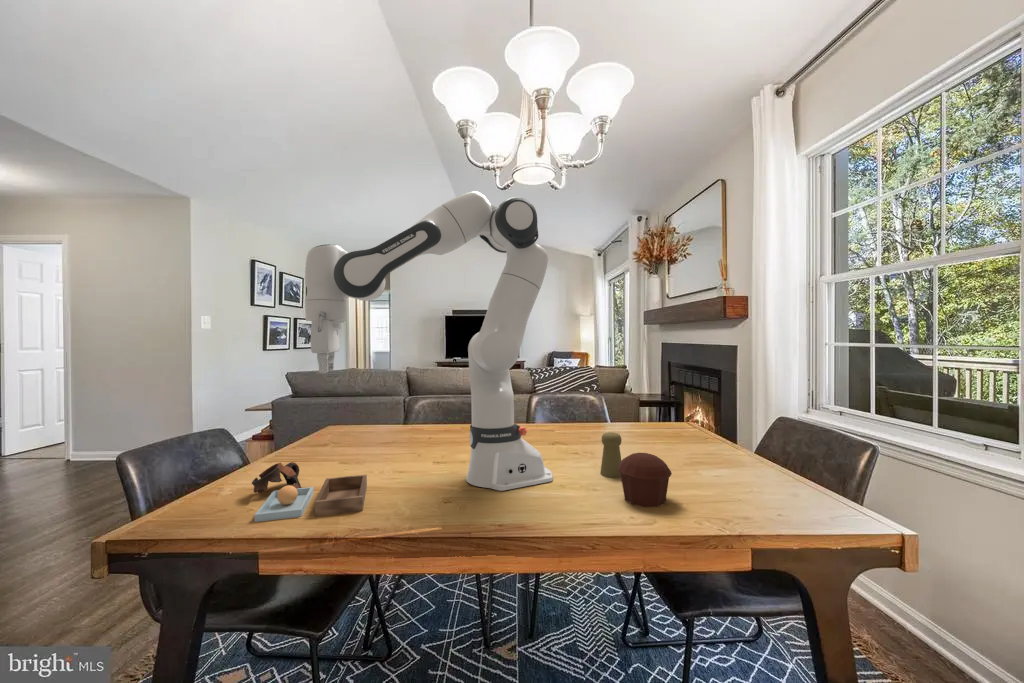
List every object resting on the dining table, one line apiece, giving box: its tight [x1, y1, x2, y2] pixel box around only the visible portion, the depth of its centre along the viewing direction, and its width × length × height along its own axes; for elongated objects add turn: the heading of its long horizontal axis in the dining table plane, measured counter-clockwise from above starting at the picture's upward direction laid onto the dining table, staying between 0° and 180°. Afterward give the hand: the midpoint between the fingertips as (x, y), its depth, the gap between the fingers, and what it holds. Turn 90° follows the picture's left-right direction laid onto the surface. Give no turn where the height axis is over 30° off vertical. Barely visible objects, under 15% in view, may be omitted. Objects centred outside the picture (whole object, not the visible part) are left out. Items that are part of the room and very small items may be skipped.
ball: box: [277, 485, 298, 505], centre depth 93 cm, size 4×4×4 cm
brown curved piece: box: [251, 462, 302, 494], centre depth 102 cm, size 12×10×8 cm
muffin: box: [618, 452, 672, 508], centre depth 94 cm, size 12×11×10 cm
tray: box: [253, 486, 315, 523], centre depth 91 cm, size 8×14×2 cm, turn 16°
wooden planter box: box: [314, 474, 368, 517], centre depth 95 cm, size 9×16×4 cm, turn 16°
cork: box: [600, 431, 622, 479], centre depth 112 cm, size 6×6×11 cm
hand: (326, 371), depth 100 cm, fingers open, 8 cm apart
